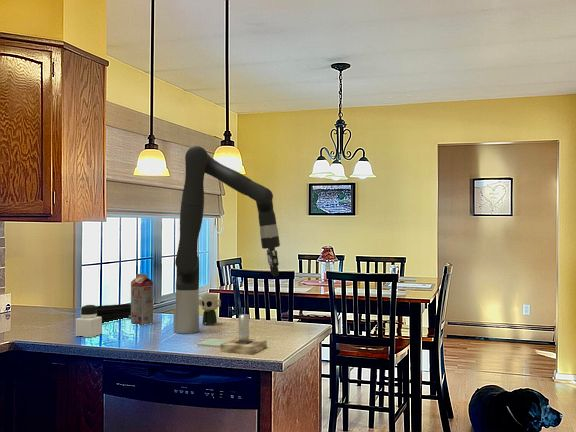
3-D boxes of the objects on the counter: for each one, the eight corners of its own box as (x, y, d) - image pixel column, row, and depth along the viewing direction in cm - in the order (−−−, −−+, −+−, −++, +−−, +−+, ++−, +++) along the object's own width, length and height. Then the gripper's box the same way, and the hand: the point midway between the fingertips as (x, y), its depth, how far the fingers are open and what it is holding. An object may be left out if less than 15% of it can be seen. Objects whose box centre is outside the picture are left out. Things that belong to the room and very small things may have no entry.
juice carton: (141, 326, 249) (141, 274, 249) (131, 324, 252) (130, 274, 252) (153, 323, 254) (153, 273, 254) (142, 322, 258) (142, 273, 258)
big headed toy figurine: (194, 324, 251) (194, 294, 251) (203, 322, 257) (203, 293, 258) (216, 326, 247) (216, 296, 247) (224, 324, 253) (224, 294, 253)
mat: (196, 345, 209) (196, 343, 209) (210, 339, 219) (210, 338, 219) (221, 347, 206) (221, 345, 206) (234, 341, 215) (234, 340, 215)
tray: (108, 326, 250) (108, 314, 250) (64, 323, 257) (64, 311, 257) (146, 315, 278) (146, 304, 278) (105, 313, 286) (105, 302, 286)
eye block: (220, 351, 199) (220, 344, 199) (236, 344, 210) (236, 337, 210) (252, 354, 195) (252, 347, 195) (266, 347, 206) (266, 340, 206)
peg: (237, 350, 201) (236, 315, 201) (241, 348, 205) (241, 314, 205) (246, 350, 200) (246, 316, 200) (250, 348, 203) (250, 314, 203)
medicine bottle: (102, 334, 230) (102, 304, 230) (90, 338, 223) (90, 307, 223) (87, 333, 232) (87, 303, 233) (75, 337, 226) (75, 306, 226)
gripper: (258, 237, 245) (264, 275, 245) (262, 237, 231) (267, 278, 231) (276, 234, 246) (281, 272, 246) (280, 235, 232) (286, 275, 232)
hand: (275, 275), depth 239 cm, fingers open, 8 cm apart
